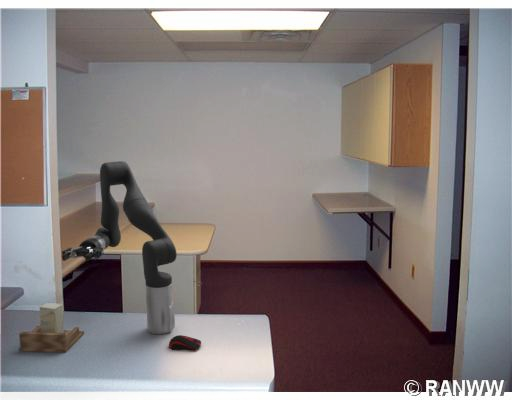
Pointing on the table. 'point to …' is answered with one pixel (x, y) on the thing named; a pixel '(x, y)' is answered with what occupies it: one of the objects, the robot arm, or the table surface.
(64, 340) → the tray
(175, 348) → the computer mouse
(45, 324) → the skincare box
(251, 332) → the table surface
